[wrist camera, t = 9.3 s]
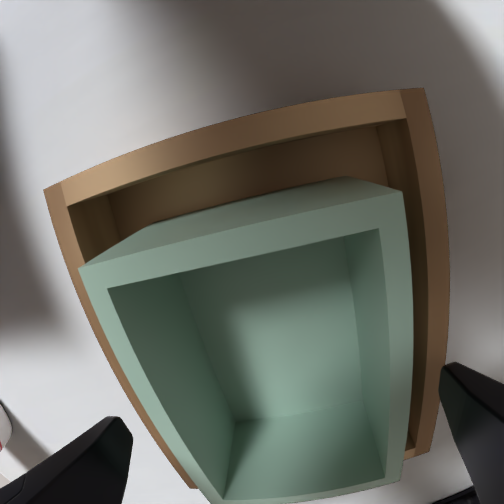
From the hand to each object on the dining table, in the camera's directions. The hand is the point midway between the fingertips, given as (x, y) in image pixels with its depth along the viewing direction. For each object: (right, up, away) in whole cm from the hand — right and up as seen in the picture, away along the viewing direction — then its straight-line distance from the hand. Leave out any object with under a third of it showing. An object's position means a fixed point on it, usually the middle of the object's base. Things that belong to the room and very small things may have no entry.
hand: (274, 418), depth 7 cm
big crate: (0, +2, +6) cm, 6 cm away
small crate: (0, +1, +5) cm, 5 cm away
